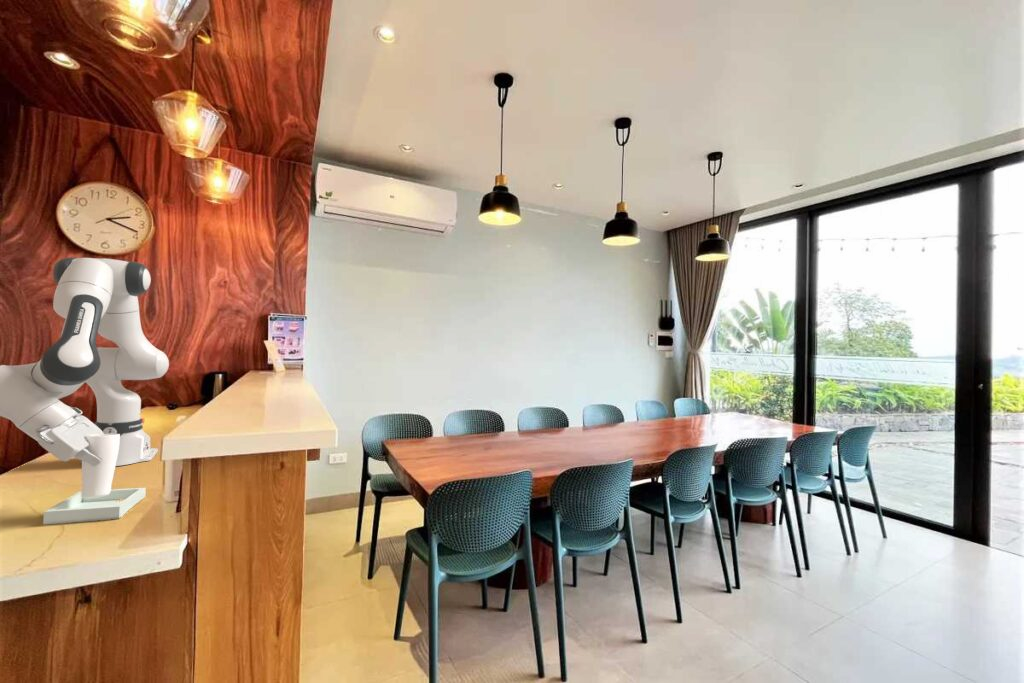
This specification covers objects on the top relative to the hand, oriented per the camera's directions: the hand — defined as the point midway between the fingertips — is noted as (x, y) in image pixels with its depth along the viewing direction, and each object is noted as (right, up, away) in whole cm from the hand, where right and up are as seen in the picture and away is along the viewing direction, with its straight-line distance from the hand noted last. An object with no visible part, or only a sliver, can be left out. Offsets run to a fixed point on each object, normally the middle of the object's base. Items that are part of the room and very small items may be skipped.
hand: (103, 459), depth 109 cm
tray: (-1, -13, 0) cm, 13 cm away
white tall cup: (-1, -9, -2) cm, 9 cm away
